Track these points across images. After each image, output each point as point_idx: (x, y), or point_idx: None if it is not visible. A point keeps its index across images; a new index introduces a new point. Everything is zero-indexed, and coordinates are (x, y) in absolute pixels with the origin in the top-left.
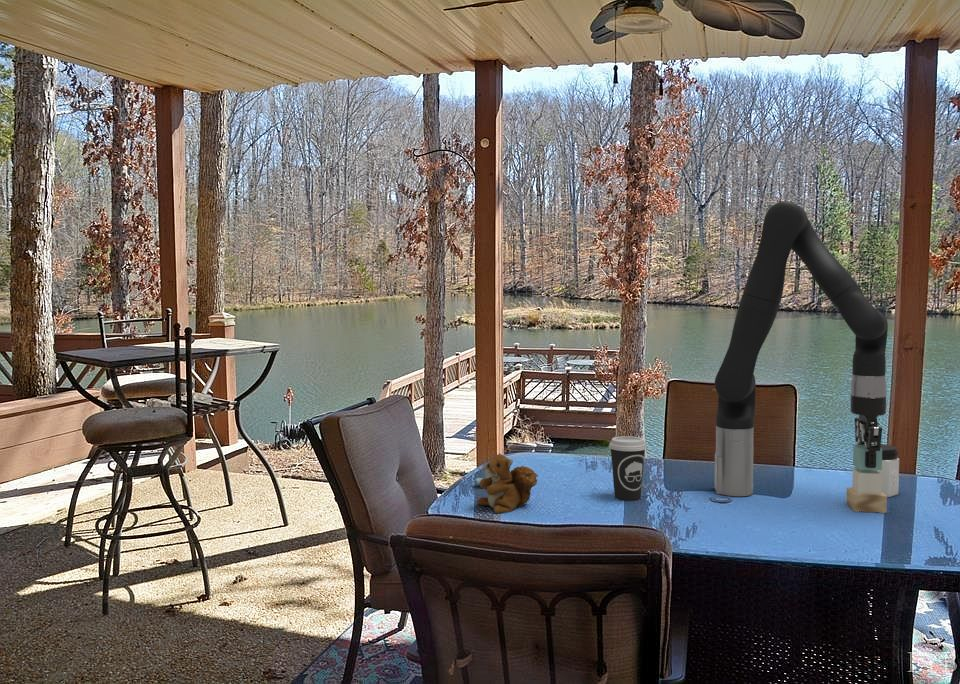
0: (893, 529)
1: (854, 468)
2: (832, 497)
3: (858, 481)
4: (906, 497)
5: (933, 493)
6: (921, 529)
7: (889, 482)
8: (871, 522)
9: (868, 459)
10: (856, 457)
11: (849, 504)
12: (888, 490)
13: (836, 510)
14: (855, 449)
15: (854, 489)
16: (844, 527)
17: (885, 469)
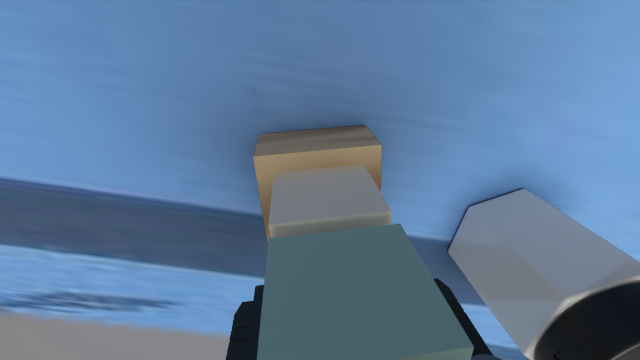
0: (86, 215)
1: (387, 218)
2: (445, 88)
3: (271, 199)
4: (450, 286)
5: (486, 335)
6: (129, 276)
7: (472, 285)
8: (138, 167)
9: (238, 340)
10: (332, 279)
11: (324, 130)
12: (457, 264)
13: (258, 72)
14: (378, 326)
15: (330, 168)
16: (7, 62)
17: (505, 312)
